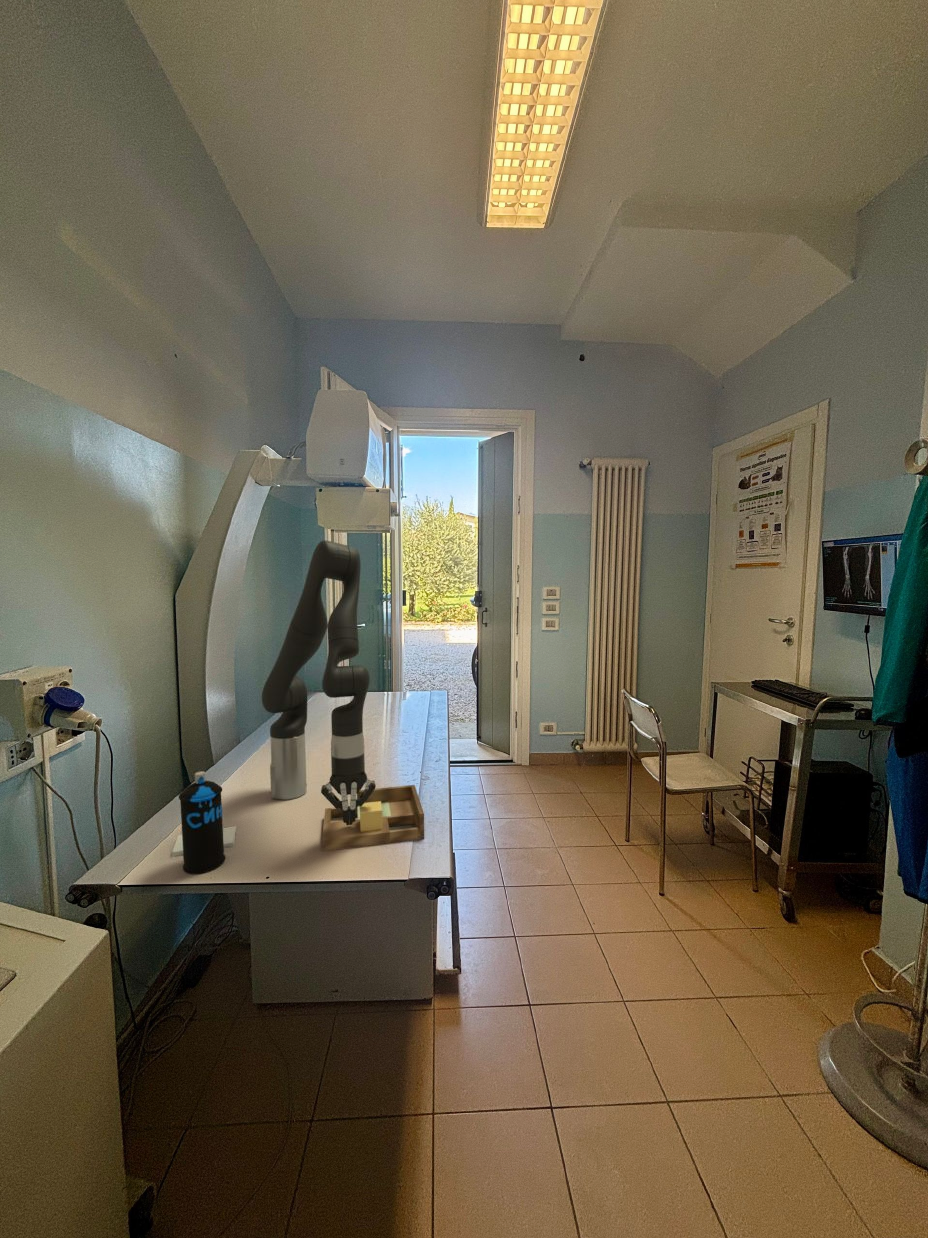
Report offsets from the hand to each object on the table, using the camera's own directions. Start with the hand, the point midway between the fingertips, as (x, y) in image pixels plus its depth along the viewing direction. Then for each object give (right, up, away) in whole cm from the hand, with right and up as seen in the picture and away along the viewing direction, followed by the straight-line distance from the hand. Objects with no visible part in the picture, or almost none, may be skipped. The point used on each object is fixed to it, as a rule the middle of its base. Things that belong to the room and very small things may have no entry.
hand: (349, 823), depth 118 cm
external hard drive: (-33, -5, -1) cm, 34 cm away
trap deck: (+4, -3, +5) cm, 7 cm away
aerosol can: (-29, -5, -10) cm, 31 cm away
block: (+5, -1, +1) cm, 5 cm away
